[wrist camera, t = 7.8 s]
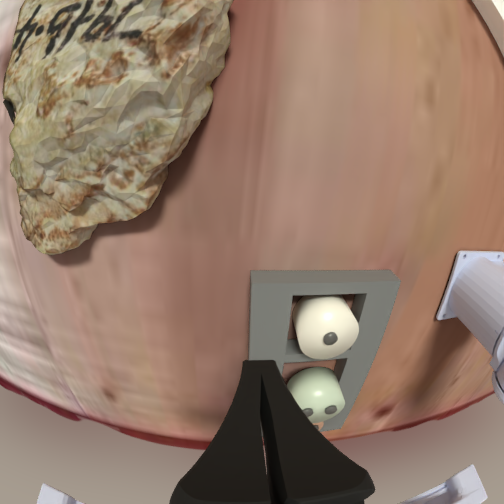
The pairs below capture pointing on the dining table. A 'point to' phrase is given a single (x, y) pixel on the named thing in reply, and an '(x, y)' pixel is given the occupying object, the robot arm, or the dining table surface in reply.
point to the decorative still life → (493, 18)
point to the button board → (321, 283)
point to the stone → (105, 106)
